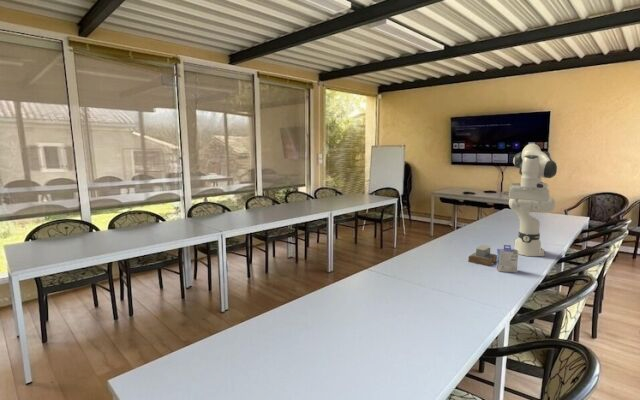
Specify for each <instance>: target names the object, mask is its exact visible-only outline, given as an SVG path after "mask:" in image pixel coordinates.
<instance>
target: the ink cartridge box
mask: <svg viewBox="0 0 640 400" xmlns="http://www.w3.org/2000/svg"><path fill="white" fill-rule="evenodd" d="M496 251H497V253H496V255H497V261H496V270H497V271H498V272H504V273H505V272H506V273H518V262H519V261H518V259H519V254H518V251H517V250H516V249H514V248H512V247H511V245H510V244H503V248H497V250H496Z"/></svg>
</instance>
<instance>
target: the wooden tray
mask: <svg viewBox="0 0 640 400" xmlns="http://www.w3.org/2000/svg"><path fill="white" fill-rule="evenodd" d="M468 262H469V263H472V264H477V265H483V266H487V267H490V266H491V265H493V263H496V262H497V254H494V253H490V254H489V255H488V256H486V257H480V256H476V251H475V252H473V253H471V254H470V255H469V256H468Z"/></svg>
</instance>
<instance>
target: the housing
mask: <svg viewBox="0 0 640 400" xmlns="http://www.w3.org/2000/svg"><path fill="white" fill-rule="evenodd" d="M475 249H476V250H475V252H476V256H480V257H486V256H488V255H489V254H491V246H490V245H485V244H481V245H479V246H477V247H476V248H475Z"/></svg>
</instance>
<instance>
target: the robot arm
mask: <svg viewBox="0 0 640 400" xmlns="http://www.w3.org/2000/svg"><path fill="white" fill-rule="evenodd" d="M512 163H513V164H514V167H515V168H517V169H519V171H518V174H520V175H521V177H520V183H517V182H512V183H511V184H509V187H508V189H509V191H508V198H509V200H508V206H509V208H510V209H511V211H513V212H515V214H516V215H517V217H518V219H519V220H518V221H519V231H518V235H517V236H518V237H517V238H516V239H515V243H514V248H513V249H516V250H517V251H518V255H521V256H527V257H545V249H543V247H542V242H541V240H540V237H541V236H540V235H541V234H540V228H541V227H540V226H541V224H540V221H539V219H537V218H536V217H534V216H532V215H530V213H551V212H552V211H554V210H555V207H556V202H555V199H554V198H553V197H552V196H550V195H551V193H550V189H549V188H548V187H549V184H548V183H545V182H542V178H544V179H551V178H553V177H555V176H556V175H557V172H558V166H557V163H556V162H555V161H554V160H552V155H551V154H550V152H549V151H542V150H541V147H540V146H539V145H538V144H535V143H528V144H526V145H525V146H524V148H523V149H522V151H519V153H516V154H515V155H514V157H513V161H512Z"/></svg>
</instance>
